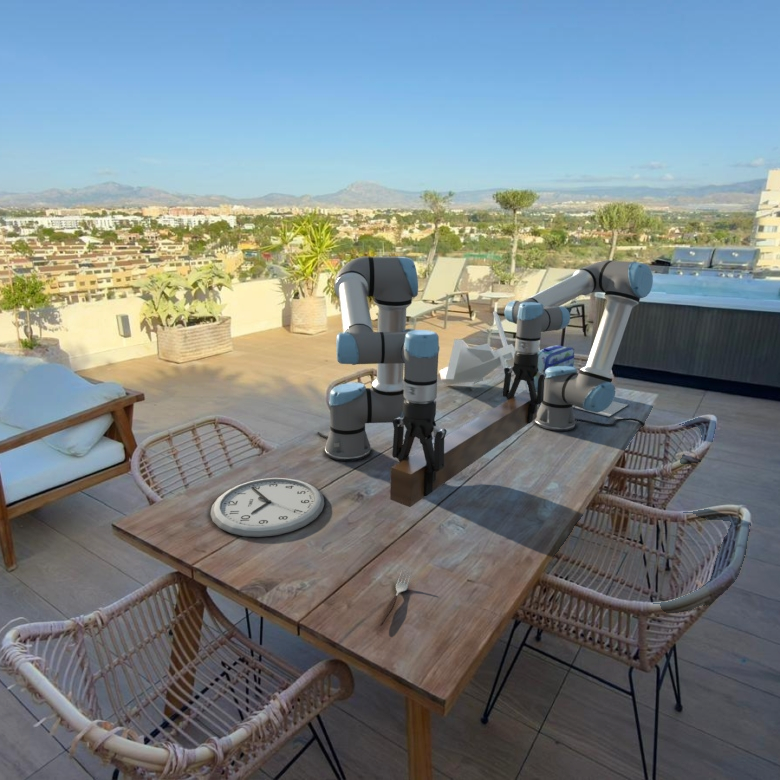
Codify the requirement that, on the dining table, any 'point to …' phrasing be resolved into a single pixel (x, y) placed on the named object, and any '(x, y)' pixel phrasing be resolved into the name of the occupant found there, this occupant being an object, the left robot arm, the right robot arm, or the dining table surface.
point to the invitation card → (608, 409)
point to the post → (460, 449)
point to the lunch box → (554, 359)
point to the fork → (400, 588)
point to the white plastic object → (478, 360)
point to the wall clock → (267, 507)
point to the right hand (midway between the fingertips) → (520, 419)
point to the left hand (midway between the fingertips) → (416, 489)
